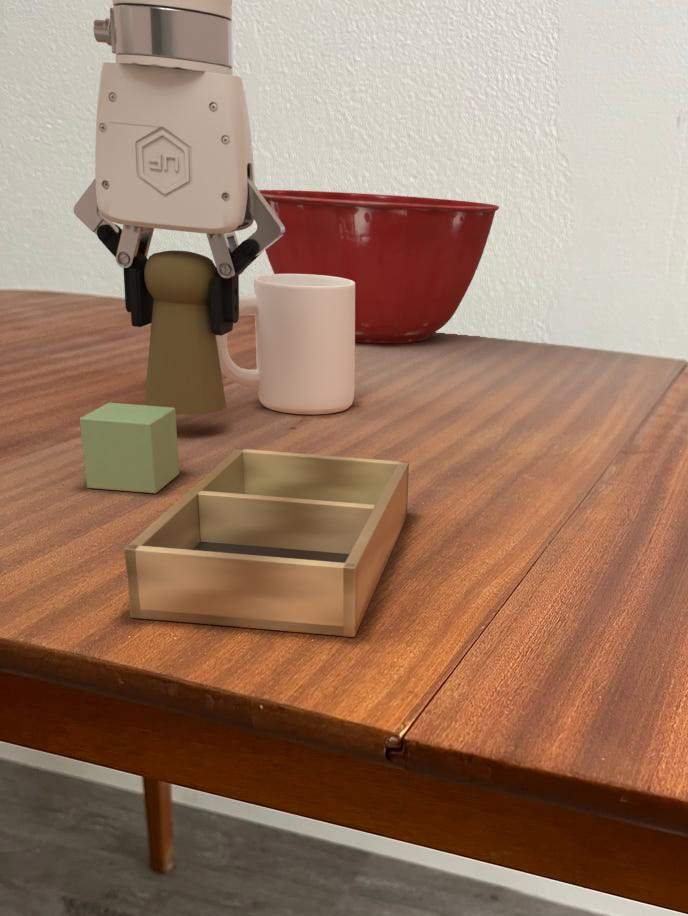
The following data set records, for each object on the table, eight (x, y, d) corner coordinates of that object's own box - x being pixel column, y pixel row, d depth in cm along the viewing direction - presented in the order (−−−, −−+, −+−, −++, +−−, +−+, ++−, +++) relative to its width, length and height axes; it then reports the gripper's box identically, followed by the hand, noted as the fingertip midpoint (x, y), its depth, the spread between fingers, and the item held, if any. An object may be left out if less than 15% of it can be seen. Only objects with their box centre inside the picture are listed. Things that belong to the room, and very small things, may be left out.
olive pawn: (139, 396, 79) (131, 244, 75) (218, 396, 82) (216, 249, 77) (149, 415, 74) (142, 254, 70) (233, 414, 77) (231, 259, 72)
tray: (130, 618, 48) (123, 548, 47) (238, 502, 64) (236, 448, 63) (354, 637, 48) (355, 568, 46) (407, 516, 64) (408, 461, 62)
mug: (218, 417, 83) (212, 284, 79) (209, 395, 90) (202, 271, 86) (363, 415, 87) (365, 287, 82) (343, 393, 94) (343, 274, 89)
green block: (86, 488, 65) (78, 418, 63) (114, 468, 69) (108, 402, 67) (156, 494, 65) (150, 423, 63) (180, 474, 69) (175, 407, 67)
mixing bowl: (261, 311, 134) (257, 183, 128) (477, 321, 138) (484, 196, 131) (240, 351, 109) (234, 193, 102) (504, 361, 113) (515, 209, 106)
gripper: (21, 27, 65) (46, 323, 72) (287, 53, 64) (285, 348, 72) (72, 40, 72) (91, 310, 79) (314, 64, 71) (309, 333, 79)
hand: (183, 325), depth 76 cm, fingers closed on olive pawn, 5 cm apart
